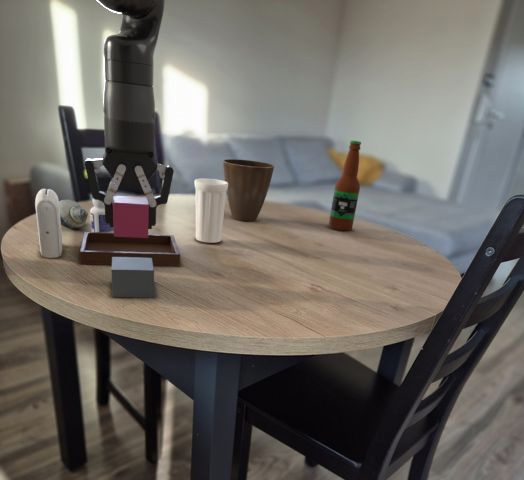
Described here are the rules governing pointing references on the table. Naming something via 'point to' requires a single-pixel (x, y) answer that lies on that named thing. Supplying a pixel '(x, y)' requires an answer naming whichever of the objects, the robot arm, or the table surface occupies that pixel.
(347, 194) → the bottle
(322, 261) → the table surface
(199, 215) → the cup
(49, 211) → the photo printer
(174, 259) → the tray
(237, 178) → the flower pot
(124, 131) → the robot arm
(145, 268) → the grey block
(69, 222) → the seashell
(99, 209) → the pill bottle
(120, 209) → the pink block
